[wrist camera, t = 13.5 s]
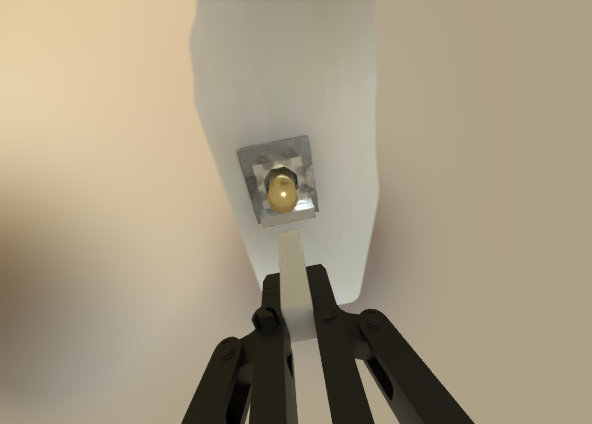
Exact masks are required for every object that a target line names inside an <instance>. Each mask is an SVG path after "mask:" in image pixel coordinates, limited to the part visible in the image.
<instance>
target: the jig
mask: <svg viewBox="0 0 592 424" xmlns="http://www.w3.org/2000/svg"><path fill="white" fill-rule="evenodd" d="M237 153H238V157H239V160H240V163H241V167H242V170H243V173H244V177H245V180H246V184H247V187H248V190H249V194H250V197H251V200H252V204H253V207H254V210H255V214H256V217H257V220H258V224H260V223H262V227H268V226H274V225H279V224H284V223H289V222H294V221H299V220H304V219H309V218H314V217H316V215H315V212H319V209H318V201H317V194H316V187H315V180H314V173H313V165H312V158H311V151H310V144H309V137H308V136H307V135H306V136H301V137H295V138H290V139H285V140H280V141H275V142H270V143H265V144H260V145H255V146H250V147H245V148H240V149H238V151H237ZM280 167H287V168H288V169H290V170H291V171H293V172H294V173H296V177H297V184H296V186H295V188H296V192H297V196H298V202H297V205H296V207H295V208H294V209H293V210H291V211H290V212H287V213H279V212H276V211H274V210H273V209H272V208H271V207H270V205H269V202H268V193H269V190H268V189H267V186H266V183H265V178H266V176H267V174H268V173H269V171H270V170H271V169H275V168H280Z"/></svg>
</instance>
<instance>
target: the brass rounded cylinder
mask: <svg viewBox="0 0 592 424" xmlns="http://www.w3.org/2000/svg"><path fill="white" fill-rule="evenodd" d="M268 202H269V205H270V207H271V208H272V209H273V210H274V211H276V212H279V213H287V212H290V211H291V210H293V209H294V208H295V207H296V205H297V202H298V196H297V192H296V188H295V185H294V181H293V178H292V175H291V173H290V172H289V171H288V170H286V169H283V168H279V169H276V170H274V171H273V172H272V173H271V175H270V179H269V193H268Z"/></svg>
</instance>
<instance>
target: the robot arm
mask: <svg viewBox="0 0 592 424" xmlns="http://www.w3.org/2000/svg"><path fill="white" fill-rule="evenodd" d="M279 259H280V273H275V274H270V275H267V276H266V277H265V279H264V281H263V291H262V306H261V307H260V308H259V309H258V310H256V312H255V313H254V315H253V317H252V322H253V324H254V326H255V328H256V329H255V330H254V331H253V332H252V333H250V334H249V335H247V336H245V337H243V338H241V339H238V338H236V337H229V338H226V339H224V340H222V341H221V342H220V343H219V344H218V345H217V347H216V348H215V350H214V352H213V354H212V356H211V359H210V361H209V363H208V365H207V368H206V370H205V372H204V374H203V376H202V379H201V381H200V383H199V386H198V387H197V390H196V392H195V394H194V396H193V399H192V401H191V403H190V405H189V408H188V410H187V412H186V414H185V416H184V418H183V421H182V423H181V424H245V421H246V417H247V413H248V409H249V405H250V416H249V424H298V418H297V404H296V391H295V377H294V364H293V353H292V349H291V342H297V341H302V340H307V339H312V338H317V339H318V345H319V350H320V356H321V361H322V367H323V373H324V377H325V384H326V390H327V395H328V401H329V407H330V412H331V418H332V423H333V424H374V420H373V417H372V414H371V410H370V407H369V404H368V401H367V397H366V394H365V391H364V388H363V384H362V381H361V378H360V375H359V371H358V368H357V365H356V362H355V358H356V359H361V360H363V361H364V363H365V365H366V366H367V368H368V370H369V372H370V373H371V375H372V377H373V378H374V380H375V382H376V383H377V385H378V387H379V389H380V390H381V392H382V394H383V395H384V397H385V399H386V401H387V402H388V404H389V406H390V408H391V409H392V411H393V413H394V414H395V416H396V418H397V419H398V421H399V423H400V424H474V423H473V421H472V420H471V419H470V418H469V416H468V415H467V414H466V413H465V411H464V410H463V409H462V408H461V407H460V405H459V404H458V403H457V402H456V401H455V399H454V398H453V397H452V396H451V394H450V393H449V392H448V391H447V390H446V388H445V387H444V386H443V385H442V384H441V382H440V381H439V380H438V379H437V378H436V376H435V375H434V374H433V373H432V371H431V370H430V369H429V368H428V367H427V365H425V363H424V362H423V361H422V359H421V358H420V357H419V356H418V355H417V353H416V352H415V351H414V350H413V348H411V346H410V345H409V344H408V343H407V341H406V340H405V339H404V338H403V337H402V335H401V334H400V333H399V332H398V330H397V329H396V328H395V327H394V326H393V324H392V323H391V322H390V321H389V319H388V318H387V317H386V316H385V315H384V314H383V313H382V312H380V311H378V310H376V309H367V310H364V311H363V312H361V313H360V315H359V314H351V313H347V312H345V311H343V310H341V309H340V308H339V307H338V305H337V303H336V301H335V298H334V294H333V291H332V288H331V285H330V282H329V278H328V275H327V272H326V269H325V268H324V267H323V266H322V265H321V264H318V265H313V266H308V267H306V265H305V259H304V254H303V249H302V245H301V240H300V235H299V230H298V229H296V230H291V231H286V232H281V233H279ZM290 339H291V340H290ZM250 402H251V404H250Z"/></svg>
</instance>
